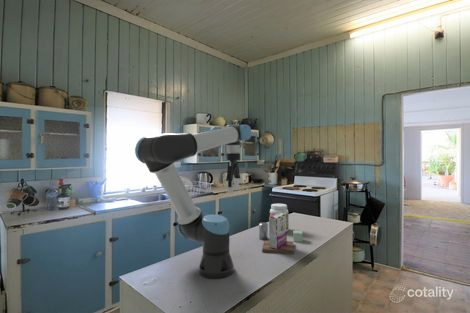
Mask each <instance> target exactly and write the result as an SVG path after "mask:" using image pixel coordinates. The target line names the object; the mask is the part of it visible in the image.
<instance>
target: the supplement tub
mask: <svg viewBox="0 0 470 313" xmlns="http://www.w3.org/2000/svg"><path fill="white" fill-rule="evenodd" d="M277 213H284V214H286V232H288V231H289V229H290V228H289V226H290V225H289V210H288V205H287V204H286V203H272V204H271V205H270V209H269V217H270V216H273V215H275V214H277Z"/></svg>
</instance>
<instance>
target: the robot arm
mask: <svg viewBox="0 0 470 313" xmlns="http://www.w3.org/2000/svg"><path fill="white" fill-rule="evenodd" d="M251 128H252V127H250V125H248V124H227V125H226V126H212V127H211V128H210V130H208V131H202V132H197V133H191V132H184V133H183V132H182V133H161V134H160V133H159V134H148V135H145V136H143V137H141V138H139V139H138V141H137V142H136V145H135V148H134V154H135V157H136V158H137V160H138V161H139V162H141V163H142V164H144V165H146V168H147V169H148V171H149V172H150V173H151V174H155V176H156V178H157V180H158V181H159V183H160V185H161V186H162V188H163V190H164V193H165V194H166V196H167V198H168V199H169V201H170V203H171V205H172V207H173V209H174V210H175V213H176V214H177V218H176V221H177V226H176V227H177V228H176V229H177V231H178V234H180V236H181V237H183V238H184V239H186V240H189V241H193V242H196V243H199V244H202V255H201V258H200V259H201V260H200V262H199V265H198V273H199V275H200V276H201V277H203V278H205V279H211V280H213V279H214V280H215V279H217V280H218V279H223V278H226V277H229V276H231V275H232V274H233V273H234V272H235V271H234V270H235V268H234V261H233V259H232V256H231V252H230V223H229V219H228V218H227V217H226V216H223V215H219V214H206V215H204V214H203V212H202V210H201V208H200V207H198V206H196V205H195V203H194V202H193V200H192V197H191V195H190V194H189V191H188V190H187V188H186V185H185V183H184V182H183V179H182V177H181V175H180V174H179V171H178V170H177V168H176V165H175V163H177V162H179V161H182V160H185V159H188V158H191V157H194V156H196V155H197V154H198V153H199V152H203V151H206V150H211V149H215V148H217V147H221V146H224V145H225V146H226V161H228V162H227V170H226V171H227V173H226V177H225V182H227V194H234V191H239V190H240V179H241V174H240V168H239V167H240V166H239V161H240V160H241V153H240V152H241V149H242V147H241V143H240V142H241V141H248V140H250V139H251V137H252V134H253V132H252V129H251Z"/></svg>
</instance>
